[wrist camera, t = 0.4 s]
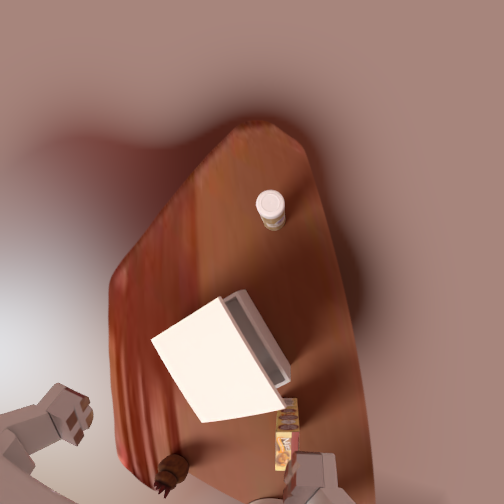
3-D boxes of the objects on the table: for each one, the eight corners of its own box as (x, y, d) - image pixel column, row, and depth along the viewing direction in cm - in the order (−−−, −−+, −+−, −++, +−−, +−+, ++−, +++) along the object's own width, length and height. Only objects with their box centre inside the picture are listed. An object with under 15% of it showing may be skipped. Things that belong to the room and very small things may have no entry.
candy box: (277, 397, 57) (273, 431, 41) (298, 396, 56) (300, 431, 41) (278, 432, 56) (274, 471, 41) (297, 431, 55) (298, 471, 40)
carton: (290, 365, 57) (290, 381, 47) (215, 401, 58) (203, 421, 48) (245, 289, 59) (236, 291, 50) (172, 330, 61) (152, 338, 51)
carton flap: (287, 406, 37) (285, 408, 37) (204, 421, 48) (201, 422, 48) (220, 296, 40) (217, 297, 39) (153, 338, 51) (150, 339, 50)
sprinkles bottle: (278, 235, 60) (275, 222, 46) (258, 223, 60) (250, 207, 47) (289, 215, 60) (290, 198, 46) (270, 204, 60) (265, 183, 47)
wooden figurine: (196, 463, 57) (176, 499, 42) (183, 473, 57) (162, 508, 42) (174, 446, 58) (150, 479, 43) (162, 457, 58) (137, 489, 43)
